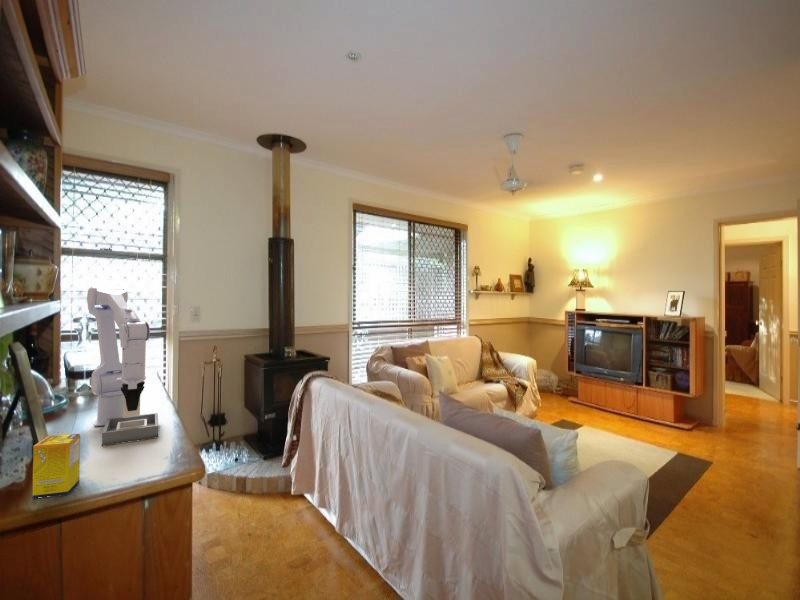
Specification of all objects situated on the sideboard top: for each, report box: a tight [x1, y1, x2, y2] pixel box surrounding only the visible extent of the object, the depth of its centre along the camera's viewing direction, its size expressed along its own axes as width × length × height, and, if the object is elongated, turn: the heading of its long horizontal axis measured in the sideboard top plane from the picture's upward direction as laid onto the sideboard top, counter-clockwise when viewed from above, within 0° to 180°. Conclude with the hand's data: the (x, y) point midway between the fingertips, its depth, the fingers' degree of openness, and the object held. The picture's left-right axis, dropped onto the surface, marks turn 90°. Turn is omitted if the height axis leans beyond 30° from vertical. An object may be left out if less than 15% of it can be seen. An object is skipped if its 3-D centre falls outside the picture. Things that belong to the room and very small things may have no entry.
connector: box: [123, 397, 141, 418], centre depth 114 cm, size 4×4×7 cm
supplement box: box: [32, 432, 81, 499], centre depth 81 cm, size 6×6×11 cm
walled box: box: [101, 412, 160, 447], centre depth 115 cm, size 14×13×4 cm
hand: (132, 408), depth 114 cm, fingers closed on connector, 4 cm apart
